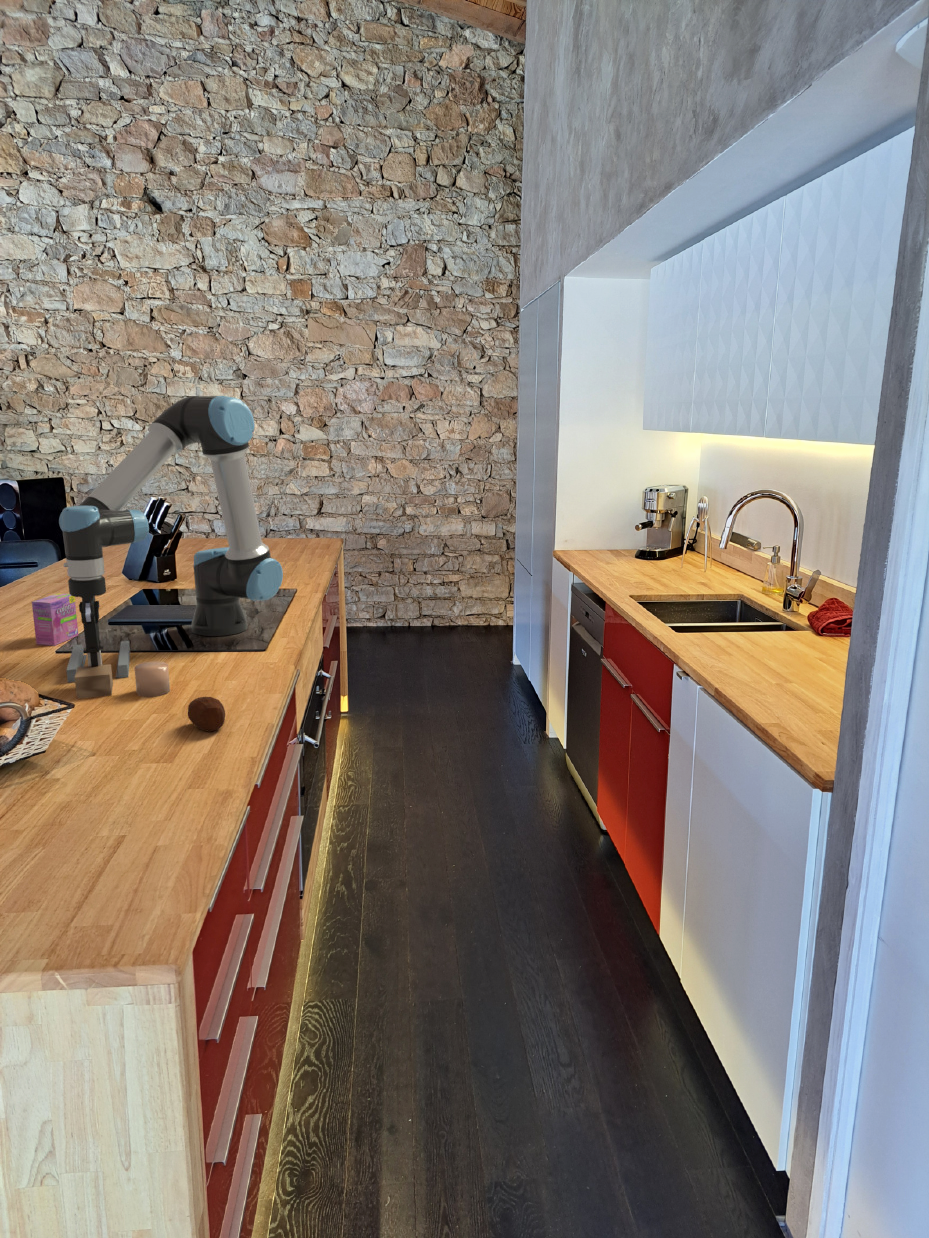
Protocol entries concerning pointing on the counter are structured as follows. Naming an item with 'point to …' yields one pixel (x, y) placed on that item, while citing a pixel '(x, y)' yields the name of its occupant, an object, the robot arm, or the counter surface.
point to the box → (55, 619)
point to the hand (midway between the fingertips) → (96, 678)
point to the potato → (206, 713)
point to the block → (93, 681)
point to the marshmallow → (152, 679)
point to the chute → (78, 656)
